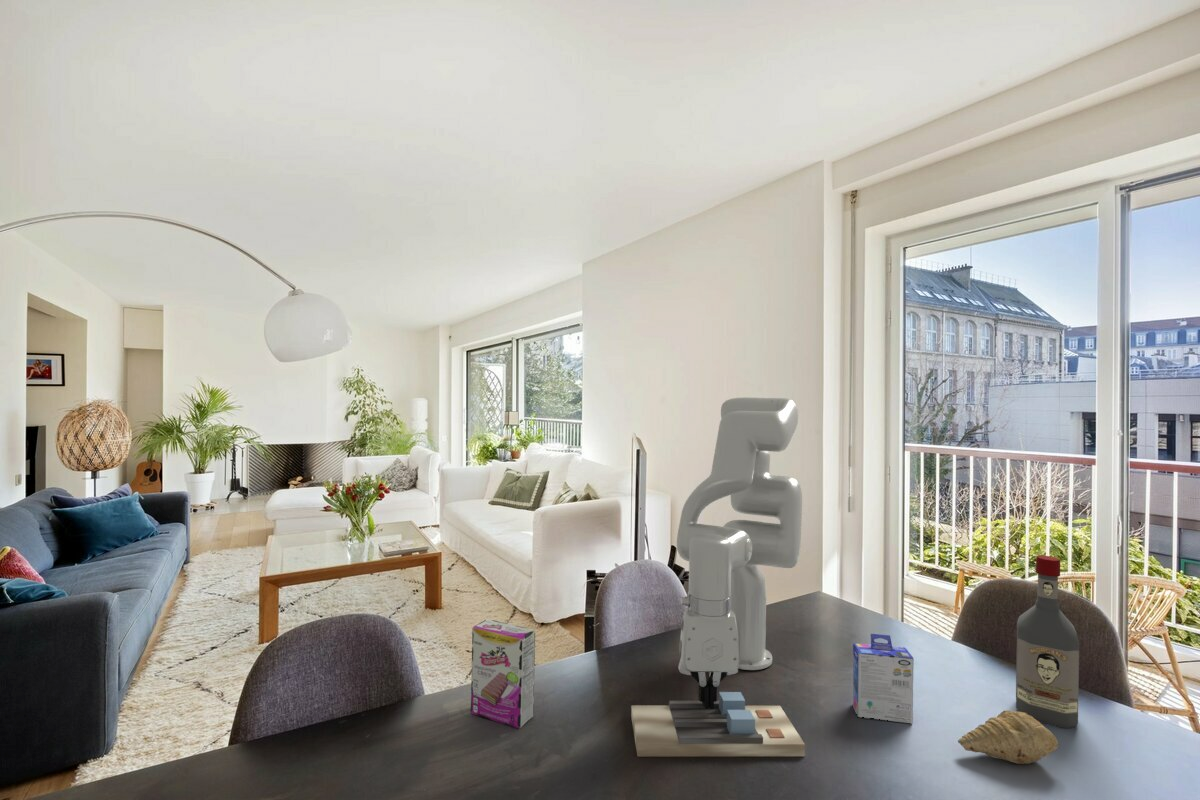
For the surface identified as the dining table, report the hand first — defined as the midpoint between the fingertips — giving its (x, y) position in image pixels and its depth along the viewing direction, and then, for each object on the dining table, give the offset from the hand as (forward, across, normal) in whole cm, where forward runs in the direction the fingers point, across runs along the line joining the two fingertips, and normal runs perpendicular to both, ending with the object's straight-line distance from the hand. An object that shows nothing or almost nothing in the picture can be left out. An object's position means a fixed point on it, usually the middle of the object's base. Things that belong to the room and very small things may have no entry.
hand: (707, 704), depth 103 cm
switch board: (+4, 0, -3) cm, 5 cm away
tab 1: (+1, +5, 0) cm, 5 cm away
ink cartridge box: (+4, +34, +4) cm, 35 cm away
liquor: (+4, +66, +3) cm, 67 cm away
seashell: (+4, +47, -10) cm, 49 cm away
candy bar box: (+4, -38, +4) cm, 38 cm away
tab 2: (+2, +4, -6) cm, 8 cm away
